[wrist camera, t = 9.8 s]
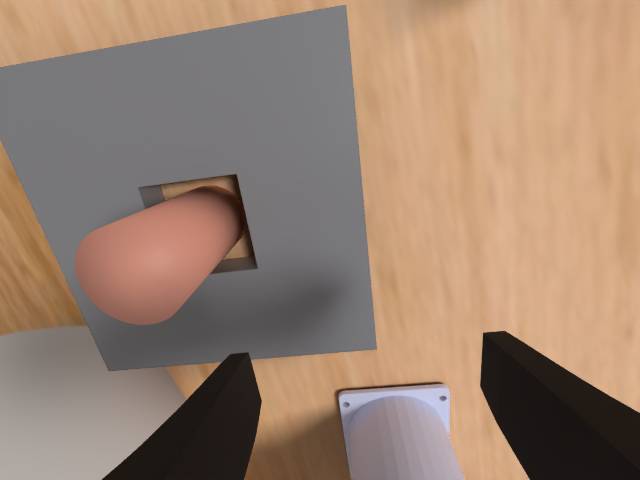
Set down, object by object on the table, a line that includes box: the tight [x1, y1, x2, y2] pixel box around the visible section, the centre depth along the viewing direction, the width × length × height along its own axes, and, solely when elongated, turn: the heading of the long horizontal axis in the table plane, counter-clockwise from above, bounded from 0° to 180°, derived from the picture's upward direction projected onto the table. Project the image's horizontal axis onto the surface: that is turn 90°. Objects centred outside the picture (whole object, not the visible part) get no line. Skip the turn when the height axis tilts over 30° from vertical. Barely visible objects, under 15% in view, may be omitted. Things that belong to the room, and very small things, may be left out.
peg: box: [75, 186, 247, 325], centre depth 15 cm, size 4×4×8 cm
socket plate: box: [0, 5, 377, 371], centre depth 17 cm, size 18×18×2 cm
